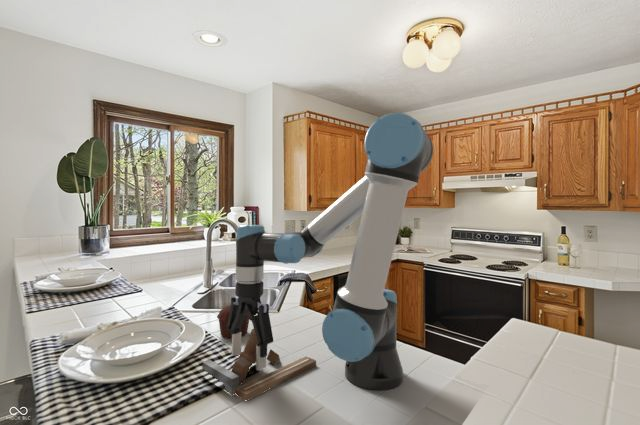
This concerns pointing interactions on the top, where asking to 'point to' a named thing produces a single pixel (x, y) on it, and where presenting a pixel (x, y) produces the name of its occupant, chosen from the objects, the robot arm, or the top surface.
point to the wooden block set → (250, 357)
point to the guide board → (260, 383)
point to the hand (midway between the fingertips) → (248, 362)
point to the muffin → (223, 321)
